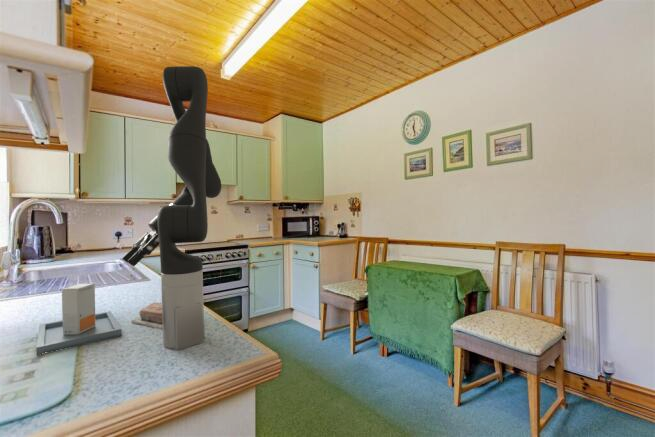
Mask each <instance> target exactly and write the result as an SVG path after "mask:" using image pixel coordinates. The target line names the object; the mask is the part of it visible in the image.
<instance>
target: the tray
mask: <svg viewBox="0 0 655 437" xmlns="http://www.w3.org/2000/svg"><path fill="white" fill-rule="evenodd" d="M95 323H96V326H95V327H93V328H91V329H89V330H86V331H84V332H82V333H80V334H78V335H63V319H61V320H56V321H50V322H45V323H44V322H43V323H39V327H38V334H37V341H36V356H40V355H39V354H41V355H43V354H42V353H45V352H50V353H52V352H51V351H54V352H57V351H56V350H58V351H61V350H60V349H63V350H66V349H65V348H67V349H71V348H75V347H79V346H85V345H87V344H92V343H97V342H101V341H104V340H105V341H106V340H109V339H114V338H117V337H121V336H122V328H121V326H120V324H119V323H118V321H117V319H116V317H115V316H114V314H113V313H112V311H111V310H108V311H104V312H100V313H95ZM70 347H71V348H70Z"/></svg>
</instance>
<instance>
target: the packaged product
mask: <svg viewBox="0 0 655 437" xmlns="http://www.w3.org/2000/svg"><path fill="white" fill-rule="evenodd" d="M138 314H139V317H138V318H137V317H136V318H135V319H134V320H130V322H131V324H135V325H142V326H145V327H149V328H154V329H159V330H163V322H162V302H153V303H150V304H149V305H147V306H144V307H143V308H142V309H140V311H139V313H138Z"/></svg>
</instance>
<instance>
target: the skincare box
mask: <svg viewBox="0 0 655 437" xmlns="http://www.w3.org/2000/svg"><path fill="white" fill-rule="evenodd" d="M95 286H96V285H95V283H78V284H75V285H70V286H67V287H65V288H62V289H61V305H62V308H61V309H62V311H61V312H62V320H63V335H78V334H80V333H82V332H84V331H86V330H89V329H91V328H93V327H95V326H96V323H95V314H96V296H95V295H96V291H95V290H96V289H95V288H96V287H95Z"/></svg>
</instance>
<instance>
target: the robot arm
mask: <svg viewBox="0 0 655 437" xmlns="http://www.w3.org/2000/svg"><path fill="white" fill-rule="evenodd" d="M162 83H163V88H164V91H165V93H166V96H167V100H168V102H169V105H170V108H171V110H172V113H173V117H174V118H175V120H176V123H175V124H174V125H173V126H172V128H171V130H170V131H169V135H168V138H167V139H168V140H167V141H168V142H167V145H168V147H167V158H168V162H169V164H170V165H171V167H172V169H173V170H174V171H175V173H176V174H177V176H178V177H179V178H180V180H182V182H183V183H184V185H185V186H184V188H183V189H182V190H181V193H180V194H179V195H178V196H177V197H176V198H175V199H174V200H173V201H172V202H171V203H170V204H168V205H163V206H161V207H160V208H159V210H158V212H157V215H156V216H155V217H154V218H152V219H151V221H150V222H148V227H149V228H150V229H151V231H150V232H148V231H146V232H145V233H144V234H143V235H142V236H141V237H140V238H139V239H138V240H137V241H136V242H134V243H133V244H132V245H131V249H130V250H129V251H128V252H127V253H126V254H124V256H122V260H123V261H125V262H126V263H128V264H129V265H131V266H132V267H135V266H136V265H137V264H138V263H139V262H140V261H141V260H142V259H144V257H146V256H150V255H152V253H153V252H154V251H155V250H156V249H157V248H158V246H159V259H160V261H159V262H160V282H161V284H160V285H161V288H160V289H161V303H162V322H163V329H162V342H163V346H164V347H165V348H167V349H175V350H176V351H177V350H181V349H185V348H188V347H192V346H195V345H199V344H202V343H205V342H204V341H205V340H204V339H205V337H206V336H205V313H204V312H205V310H204V308H205V306H204V304H205V303H204V278H203V276H204V274H203V260H202V258H201V257H200V256H198V255H197V256H196V255H192V254H189V253H187V252H184V251H182V250H180V249H179V247H177V245H176V244H187V243H188V244H189V243H190V244H191V243H202V242H204V241H205V240H206V238H207V235H208V229H209V228H208V224H209V223H208V207H207V206H208V205H207V198H209V199H214V198H217V197H218V196H219V195H220V194H221V191H222V181H221V178H220V176H219V173H218V171H217V169H216V166H215V165H214V162H213V157H212V154H211V153H212V152H211V148H210V143H209V140H208V139H207V130H206V129H207V126H206V121H207V120H206V117H207V107H208V106H207V105H208V104H207V103H208V94H209V93H208V91H209V88H208V87H209V86H208V79H207V74H206V72H205V70H204V69H203V68H201V67H199V66H194V65H191V66H190V65H189V66H188V65H187V66H186V65H185V66H179V65H178V66H167V67H165V68H164V69H163V72H162ZM185 102H189V106H188V108H187V110H186V108H185V106H184V103H185Z"/></svg>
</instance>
